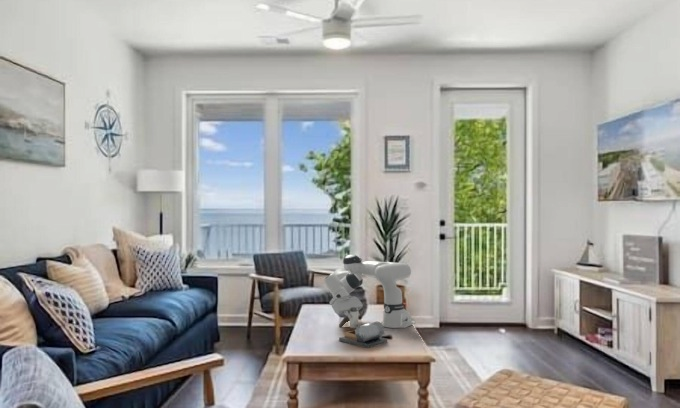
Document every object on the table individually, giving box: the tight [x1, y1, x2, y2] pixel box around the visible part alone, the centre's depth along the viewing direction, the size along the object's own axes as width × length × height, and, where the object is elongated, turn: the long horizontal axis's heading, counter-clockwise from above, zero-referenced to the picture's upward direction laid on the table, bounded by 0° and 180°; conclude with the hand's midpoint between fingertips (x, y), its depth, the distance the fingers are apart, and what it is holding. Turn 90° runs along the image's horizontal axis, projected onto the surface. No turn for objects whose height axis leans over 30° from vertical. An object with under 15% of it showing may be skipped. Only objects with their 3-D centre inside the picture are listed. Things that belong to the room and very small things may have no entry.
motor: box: [338, 321, 388, 349], centre depth 327 cm, size 18×22×11 cm
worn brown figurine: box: [338, 312, 350, 328], centre depth 364 cm, size 12×6×18 cm, turn 100°
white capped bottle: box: [349, 307, 359, 329], centre depth 330 cm, size 5×5×11 cm
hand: (354, 316), depth 329 cm, fingers closed on white capped bottle, 5 cm apart
